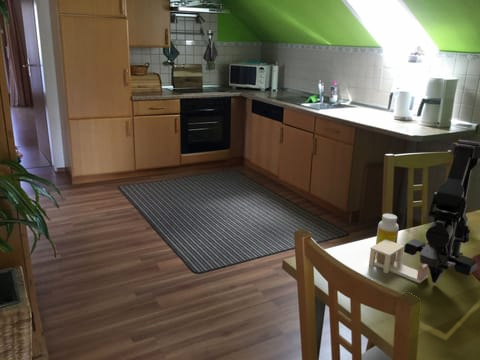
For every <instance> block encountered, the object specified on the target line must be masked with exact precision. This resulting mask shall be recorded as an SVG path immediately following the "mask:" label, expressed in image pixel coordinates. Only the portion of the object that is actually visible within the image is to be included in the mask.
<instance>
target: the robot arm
mask: <svg viewBox="0 0 480 360" xmlns="http://www.w3.org/2000/svg"><path fill="white" fill-rule="evenodd" d="M450 155H451V156H452V157H453V158H452V162H451V164H450V169H449V171H448V175H447V178H446V180H445V181H444V182H442V183H441V184H440V185H439V186H438V190H437V191H436V192H434V194H433V198H432V202H431V205H430V209H429V212H428V216H429V217H433V221H432V223H431V224H430V226H429V228H428V229H427V230H426V232H425V238H426V240H427V243H426V242H424V241H422V240H419V239H417V238H416V239H415V238H412V240H410V241H408V242H406V243H405V244H404V245H403V246H404V249H403V253H405V254H408V255H411V256H414V255H417V254H418V253H419V261H420V263H421V264H422V265H424V264H427V265H428V267H429V270H428V271H429V274H430V278H431V281H432V283H434V284H436V283H437V282H438V281H439V279H440V278H441V276H442V275H443V273H444V272H445V270H446V271H447V270H448V271H449V269H450V268H452V267H453V268H454V270H455V271H456V273H459V274H462V275H465V276H470V275H471V274H472V273H474V272H475V271H476V270H477V267H478V262H477V260H476V259H475V258H471V257H468V256H466V255H464V253H463V252H461V246H462V244H466V243H469V241H470V237H471V236H470V235H471V229H470V227H469V225H468V220H469V219H468V217H467V214H466V212H465V211H466V208H467V205H468V202H467V198H468V193H469V188H470V181H471V176H472V171H473V169H475V167H476V166H477V165H478V164H479V162H480V142H479V141H473V140H467V139H465V140H464V139H458V141H457V142H452V145H451V150H450ZM435 209H436V210H435Z"/></svg>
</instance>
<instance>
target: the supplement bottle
mask: <svg viewBox="0 0 480 360" xmlns="http://www.w3.org/2000/svg"><path fill="white" fill-rule="evenodd" d="M381 219H382V220H380V221H379V223H378V224H377V225H378V226H377V232H376V240H375V241H376V242H375V245H376V244H378V243H380V242H382V241H383V240H385V239H386V240H389V241H392V242H394V243H397V244H398V236H399V230H400V229H399V228H400V227H399V224H398V223H397V220H398V216H397V215H396V214H393V213H383V214H382V218H381Z"/></svg>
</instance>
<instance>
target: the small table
mask: <svg viewBox="0 0 480 360" xmlns="http://www.w3.org/2000/svg"><path fill="white" fill-rule="evenodd" d="M404 246H405V245H402V244H400V243H398V242H397V243H394V242H392V241H389V240H386V239H385V240H383V241H382V242H380V243H378V244H376V243H375V245H373V246H371V247H370V254H369V262H368V267H369V268H370V267H371V268H374V267H375V265H374V264H375V259H376V257H377V256H376V254H377V253H378V252H379V253H381V254H384V255H385V263H384V268H383V271H382V272H383V273H385V274H388V273H390V271H389V267H390V260H391V255H393V254H395V253H396V258H395V260H396V261H395V262H397V263H400V264H402V262H403V254H404Z"/></svg>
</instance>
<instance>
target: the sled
mask: <svg viewBox="0 0 480 360" xmlns="http://www.w3.org/2000/svg"><path fill="white" fill-rule="evenodd" d="M376 254H377V256H376V258H375V264H374V266H377V267H379V268H381V269H384V263H385V255H384V254H381V253H379V252H377V253H376ZM396 256H397V252H396V253H395V254H393V255H391V260H390V267H389V272H391V273H393V274H396V275H399V276H401V277H404V278H406V279H408V280H410V281H412V282H413V281H414V282H415V283H418V284H421V283H423V281H425V280H426V279H427V278H428V276H429V271H430V270H429V267H428V265H427V264H422V265H421V266H419V267H418V269H416V268H413V267H409V266H406V265H404V264H402V263H401V264H400V263H397V262H396V261H395V260H396Z"/></svg>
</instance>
